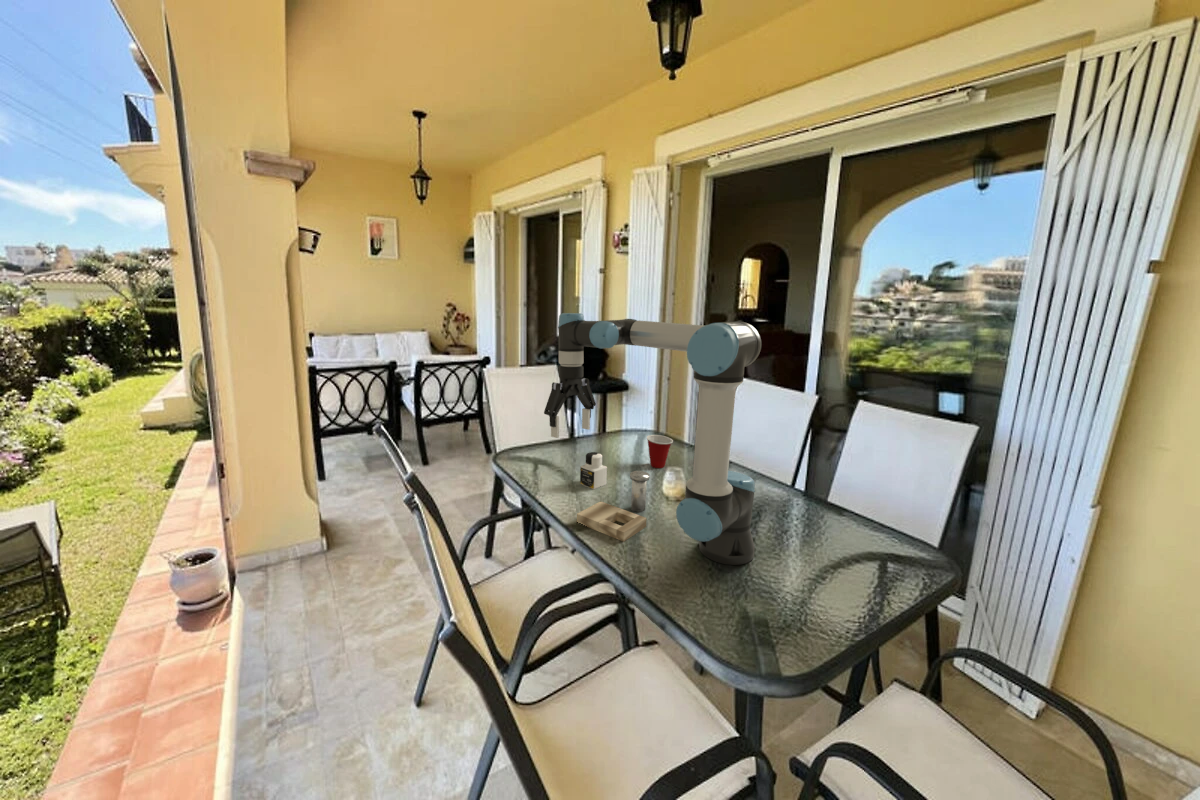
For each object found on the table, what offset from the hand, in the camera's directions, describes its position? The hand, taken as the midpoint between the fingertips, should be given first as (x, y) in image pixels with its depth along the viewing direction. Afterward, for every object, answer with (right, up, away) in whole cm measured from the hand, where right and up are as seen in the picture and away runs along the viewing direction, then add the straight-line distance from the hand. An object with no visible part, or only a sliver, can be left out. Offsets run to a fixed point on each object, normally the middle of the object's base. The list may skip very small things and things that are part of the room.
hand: (570, 432), depth 155 cm
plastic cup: (+33, -17, +51) cm, 63 cm away
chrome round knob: (+22, -26, +11) cm, 36 cm away
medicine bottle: (+7, -21, +30) cm, 38 cm away
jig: (+13, -28, 0) cm, 31 cm away
